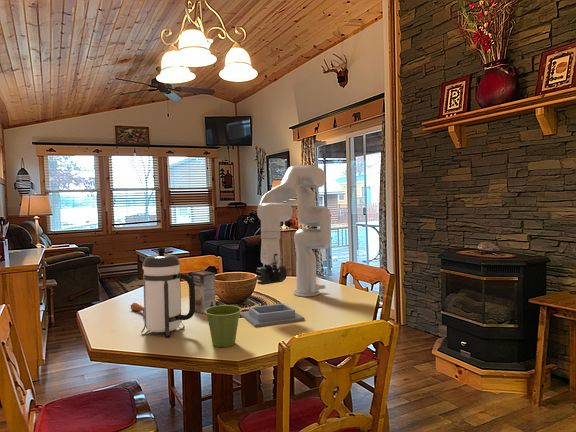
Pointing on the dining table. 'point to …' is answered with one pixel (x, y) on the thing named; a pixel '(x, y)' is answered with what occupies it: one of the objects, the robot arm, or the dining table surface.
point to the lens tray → (271, 315)
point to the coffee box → (204, 290)
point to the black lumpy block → (266, 275)
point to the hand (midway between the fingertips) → (271, 279)
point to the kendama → (137, 307)
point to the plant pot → (223, 324)
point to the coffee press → (164, 293)
